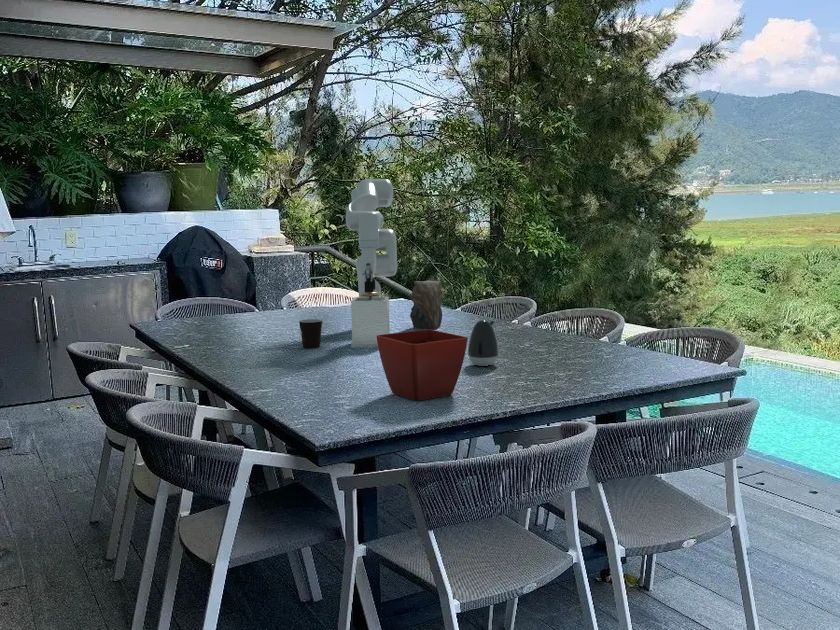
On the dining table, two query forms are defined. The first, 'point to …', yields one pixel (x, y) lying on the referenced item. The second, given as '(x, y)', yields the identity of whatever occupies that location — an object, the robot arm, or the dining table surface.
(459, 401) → the dining table surface
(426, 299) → the owl
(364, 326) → the white open square box
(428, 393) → the plant pot
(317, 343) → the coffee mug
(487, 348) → the dark grey tapered dome
